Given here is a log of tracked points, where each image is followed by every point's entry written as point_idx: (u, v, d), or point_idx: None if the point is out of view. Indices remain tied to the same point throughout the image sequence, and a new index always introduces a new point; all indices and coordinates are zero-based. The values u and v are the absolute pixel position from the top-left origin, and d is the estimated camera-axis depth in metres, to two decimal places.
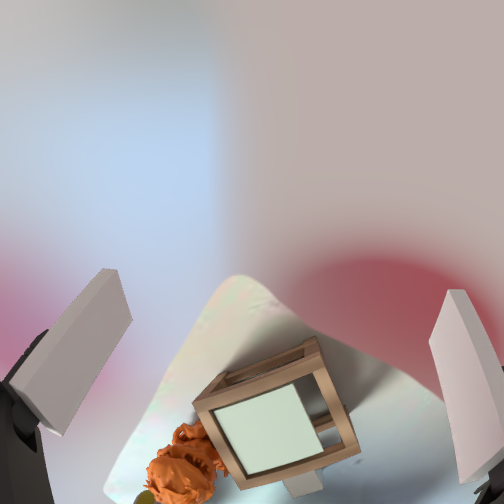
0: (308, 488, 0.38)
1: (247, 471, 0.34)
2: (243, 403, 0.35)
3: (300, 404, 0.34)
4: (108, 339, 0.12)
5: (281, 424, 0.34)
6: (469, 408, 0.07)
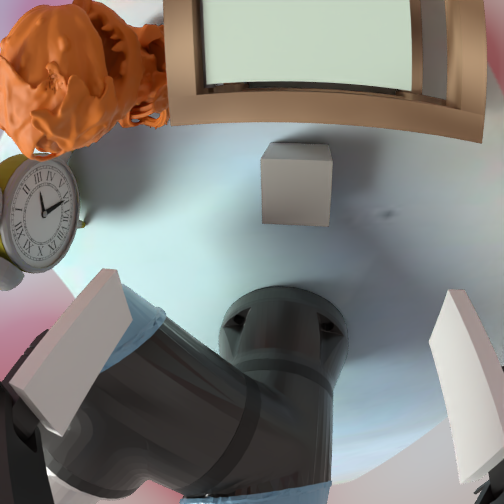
0: (302, 211, 0.24)
1: (208, 74, 0.14)
2: None
3: None
4: (108, 339, 0.12)
5: None
6: (469, 408, 0.07)
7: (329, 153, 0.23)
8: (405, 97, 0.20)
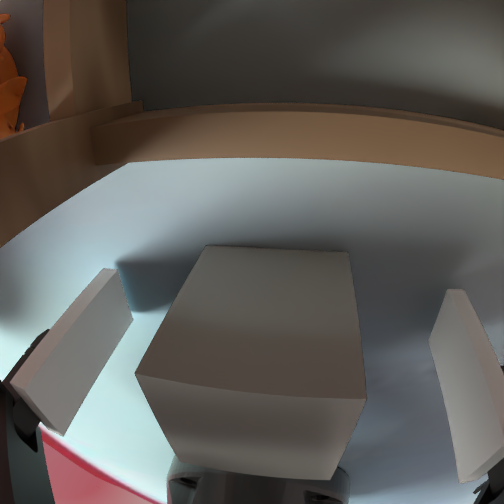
0: (268, 464, 0.08)
1: None
2: None
3: None
4: (109, 339, 0.12)
5: None
6: (468, 408, 0.07)
7: (355, 321, 0.08)
8: None
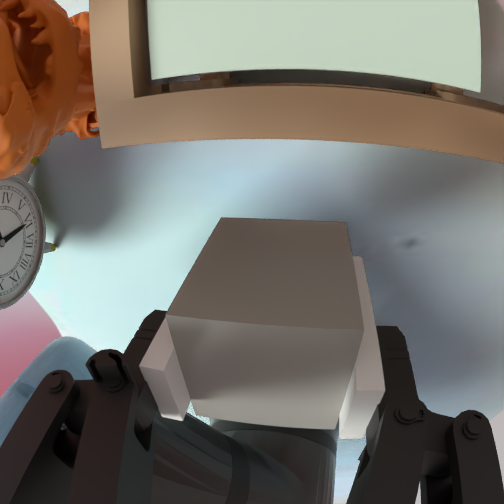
0: (278, 410, 0.10)
1: (154, 64, 0.08)
2: None
3: None
4: None
5: None
6: None
7: (352, 273, 0.09)
8: (442, 98, 0.14)
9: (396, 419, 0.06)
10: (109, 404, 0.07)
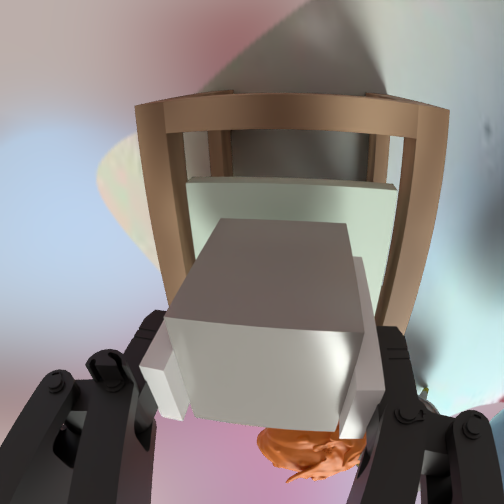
0: (278, 412, 0.10)
1: None
2: None
3: (242, 186, 0.15)
4: None
5: None
6: None
7: (352, 275, 0.09)
8: None
9: (396, 419, 0.06)
10: (109, 404, 0.07)
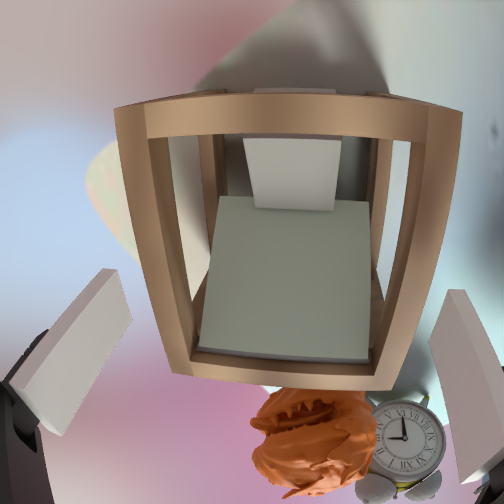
0: None
1: (359, 356, 0.17)
2: (209, 284, 0.20)
3: None
4: (108, 339, 0.12)
5: (282, 242, 0.20)
6: (469, 408, 0.07)
7: None
8: None
9: None
10: None
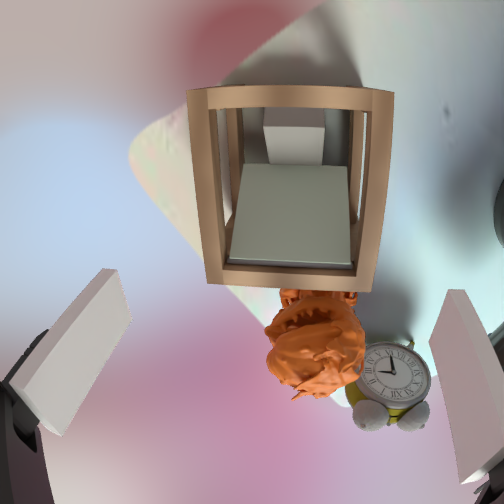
0: (300, 116, 0.25)
1: (344, 261, 0.26)
2: (237, 217, 0.29)
3: (271, 165, 0.31)
4: (108, 339, 0.12)
5: (287, 190, 0.29)
6: (469, 408, 0.07)
7: None
8: None
9: None
10: None
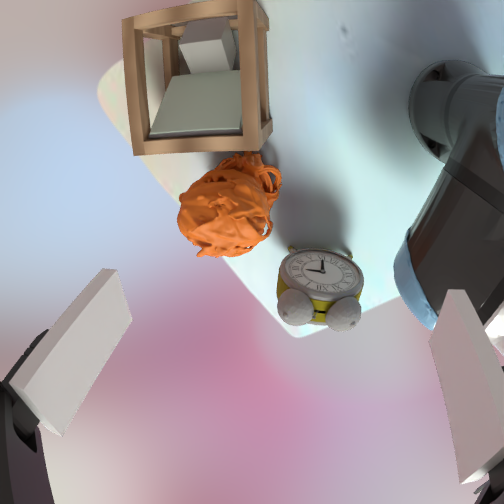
0: (205, 35, 0.30)
1: (234, 127, 0.31)
2: (160, 108, 0.34)
3: (192, 74, 0.36)
4: (108, 339, 0.12)
5: (200, 88, 0.34)
6: (469, 408, 0.07)
7: (230, 30, 0.33)
8: None
9: None
10: None
